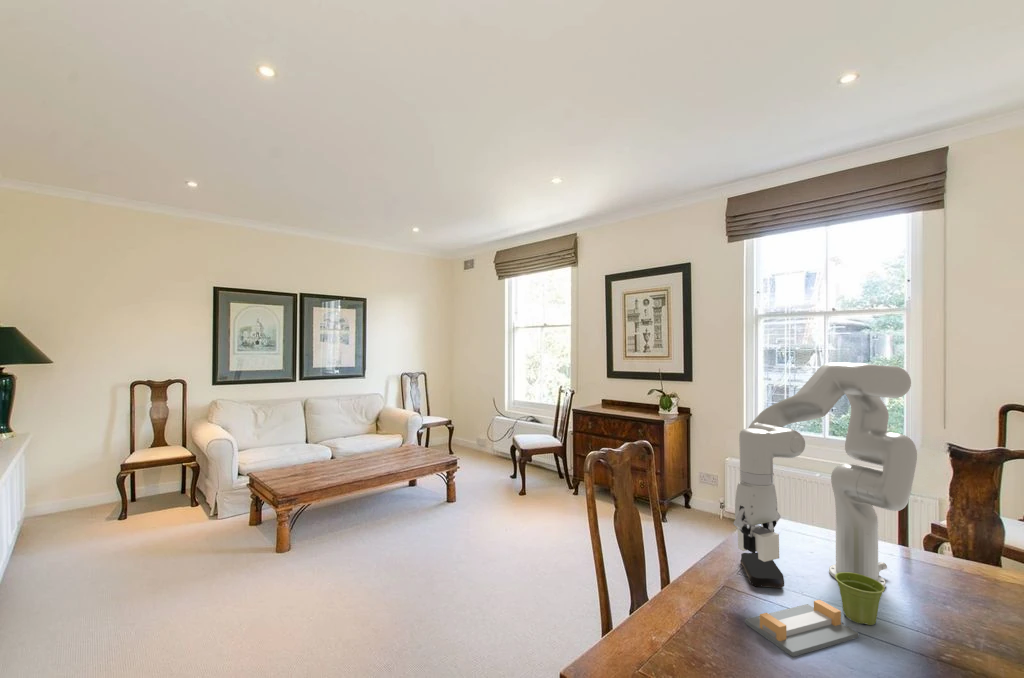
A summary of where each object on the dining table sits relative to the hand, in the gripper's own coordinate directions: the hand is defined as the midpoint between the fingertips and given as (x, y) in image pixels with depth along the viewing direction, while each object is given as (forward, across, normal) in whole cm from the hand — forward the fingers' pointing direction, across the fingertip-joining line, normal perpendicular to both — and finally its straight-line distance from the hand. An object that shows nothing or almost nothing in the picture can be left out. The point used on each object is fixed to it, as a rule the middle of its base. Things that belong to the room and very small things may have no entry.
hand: (758, 548), depth 116 cm
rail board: (+13, +2, +13) cm, 18 cm away
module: (+1, 0, 0) cm, 1 cm away
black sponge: (+14, -11, -9) cm, 20 cm away
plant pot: (+14, -16, +14) cm, 25 cm away
